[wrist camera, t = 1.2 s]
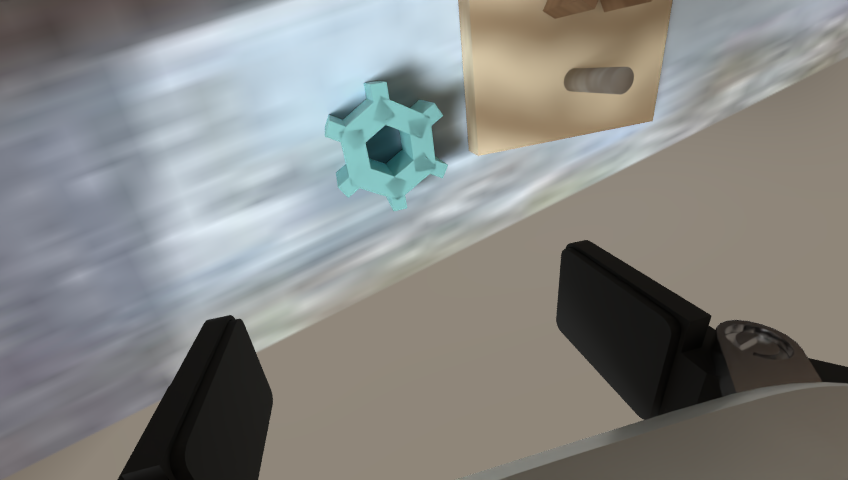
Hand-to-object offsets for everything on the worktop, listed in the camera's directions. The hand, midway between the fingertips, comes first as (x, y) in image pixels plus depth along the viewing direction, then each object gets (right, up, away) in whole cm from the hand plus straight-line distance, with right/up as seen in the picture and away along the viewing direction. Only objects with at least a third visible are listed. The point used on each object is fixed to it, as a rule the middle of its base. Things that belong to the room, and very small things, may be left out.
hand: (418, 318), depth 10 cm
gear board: (+10, +19, +16) cm, 27 cm away
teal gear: (-3, +10, +16) cm, 19 cm away
